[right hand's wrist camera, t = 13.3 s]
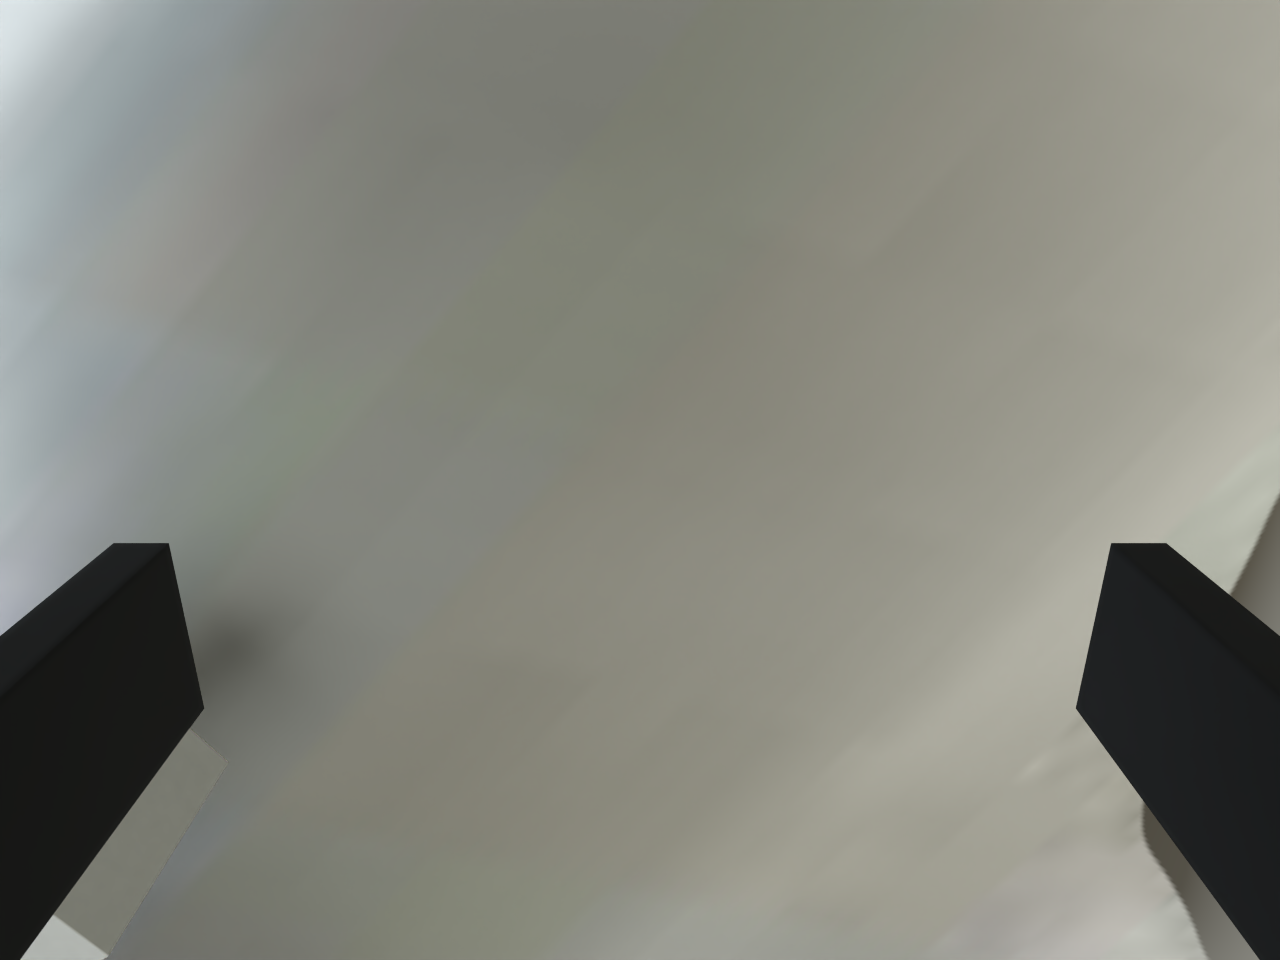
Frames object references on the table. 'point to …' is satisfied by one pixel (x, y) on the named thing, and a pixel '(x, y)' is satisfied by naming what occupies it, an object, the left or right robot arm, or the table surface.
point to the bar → (131, 857)
